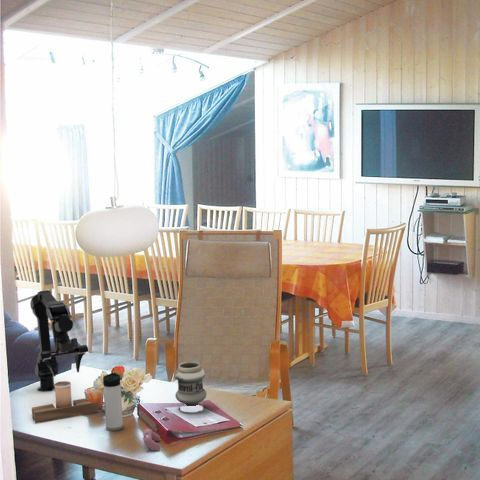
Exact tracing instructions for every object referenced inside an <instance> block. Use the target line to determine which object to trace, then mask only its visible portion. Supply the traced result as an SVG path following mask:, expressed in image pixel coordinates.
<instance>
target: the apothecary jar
mask: <svg viewBox="0 0 480 480" xmlns="http://www.w3.org/2000/svg"><path fill="white" fill-rule="evenodd" d="M205 376H206V372H205V370H204V369H203V368H202V367H201V364H200V362H198V361H185V362H182V363H180V364H178V367H177V370H176V371H175V372H174V377H175V379H176V380H177V385H178V386H177V387H178V388H177V391H176V392H175V398H176V400H177V401H178V402H179V403H181V404H183V405H184V404H186V405H187V406H196V405H198V404H200V403H202V402H203V401H204V400H205V399H206V398H207V391H206V389H204V385H203V379H204V378H205Z"/></svg>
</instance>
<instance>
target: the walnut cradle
mask: <svg viewBox="0 0 480 480" xmlns="http://www.w3.org/2000/svg"><path fill="white" fill-rule="evenodd" d="M86 398H87V397H86ZM86 398H79V399H74V400H72V406H68V407H62V408H56V406H55V405H54V403H51V404H49V403H48V404H44V405H38V406H32V407H31V416H32V420H33V421H34V422H35V424H39V423H40V424H41V423H45V422H46V423H47V422H51V421H56V420H63V419H67V418H73V417H80V416H85V415H91V414H95V413H94V412H97V413H99V405H98V401H97V402H96V403H91V402H87V400H86Z"/></svg>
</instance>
